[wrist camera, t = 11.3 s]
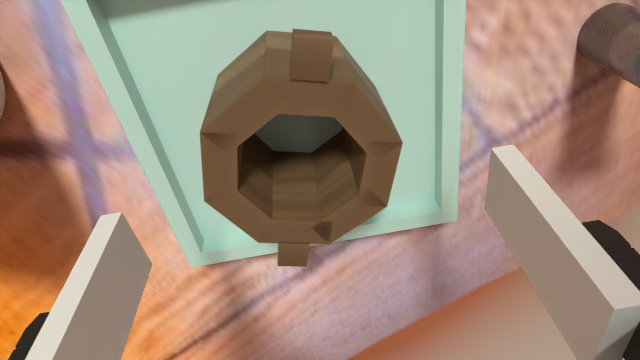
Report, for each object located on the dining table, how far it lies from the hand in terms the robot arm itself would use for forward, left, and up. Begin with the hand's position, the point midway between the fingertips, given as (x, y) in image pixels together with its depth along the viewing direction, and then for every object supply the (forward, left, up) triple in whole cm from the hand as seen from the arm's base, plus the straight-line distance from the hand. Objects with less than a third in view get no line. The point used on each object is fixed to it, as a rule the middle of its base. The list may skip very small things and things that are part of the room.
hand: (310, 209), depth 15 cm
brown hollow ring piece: (0, 0, -9) cm, 9 cm away
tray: (0, 0, -10) cm, 10 cm away
